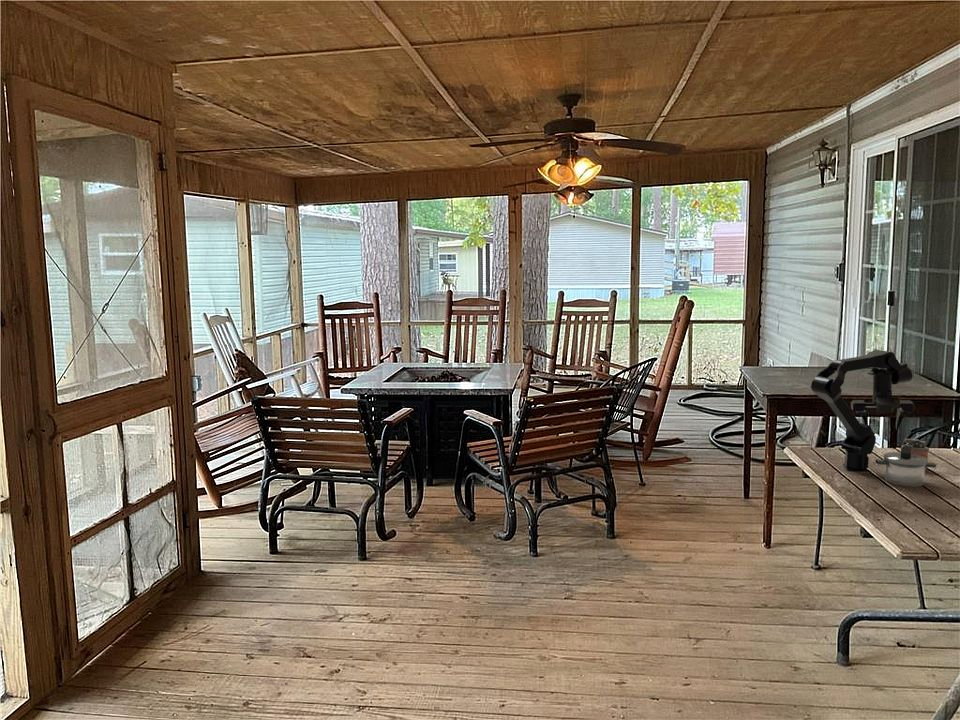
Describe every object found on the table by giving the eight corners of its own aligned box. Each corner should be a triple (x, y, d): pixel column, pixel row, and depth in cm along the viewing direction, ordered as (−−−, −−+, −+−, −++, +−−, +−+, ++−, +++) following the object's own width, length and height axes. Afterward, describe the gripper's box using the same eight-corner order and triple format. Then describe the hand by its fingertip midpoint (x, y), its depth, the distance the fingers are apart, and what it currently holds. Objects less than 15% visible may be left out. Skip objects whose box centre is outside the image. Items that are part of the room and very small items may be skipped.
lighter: (927, 467, 243) (929, 440, 241) (927, 470, 240) (929, 442, 238) (900, 464, 247) (902, 436, 246) (899, 466, 244) (902, 439, 243)
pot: (880, 484, 226) (881, 463, 225) (870, 474, 237) (872, 454, 236) (939, 488, 222) (941, 467, 221) (927, 477, 232) (928, 457, 231)
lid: (890, 464, 224) (891, 449, 223) (878, 454, 236) (880, 439, 235) (933, 467, 221) (935, 452, 220) (920, 456, 233) (921, 441, 232)
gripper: (854, 391, 237) (854, 435, 240) (918, 391, 230) (917, 437, 233) (851, 384, 247) (850, 426, 250) (911, 384, 240) (910, 427, 243)
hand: (881, 429), depth 244 cm, fingers open, 9 cm apart
